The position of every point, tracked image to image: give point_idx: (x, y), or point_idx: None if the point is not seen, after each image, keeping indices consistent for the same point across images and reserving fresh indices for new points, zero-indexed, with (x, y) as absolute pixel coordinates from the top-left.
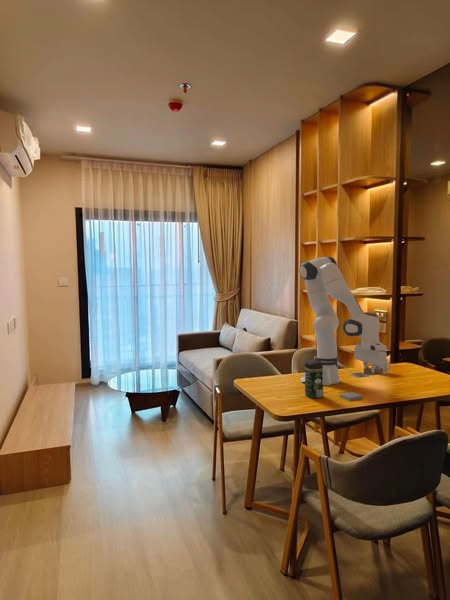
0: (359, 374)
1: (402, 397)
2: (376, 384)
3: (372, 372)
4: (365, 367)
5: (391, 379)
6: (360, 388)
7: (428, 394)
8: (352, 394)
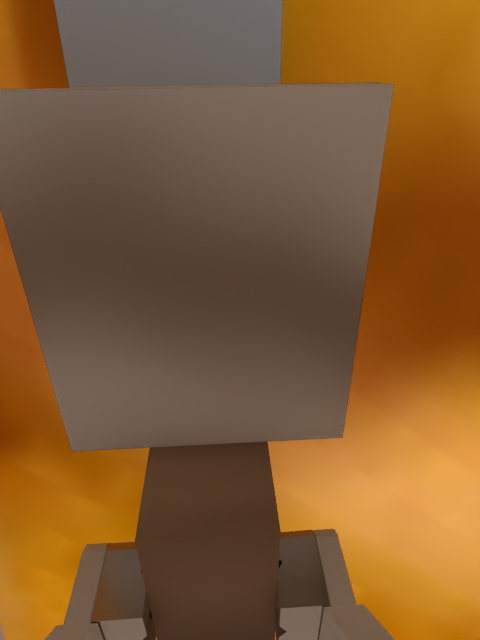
0: (180, 285)
1: (18, 484)
2: (418, 515)
3: (92, 553)
4: (309, 601)
5: (439, 627)
6: (419, 355)
7: (45, 628)
8: (176, 27)
